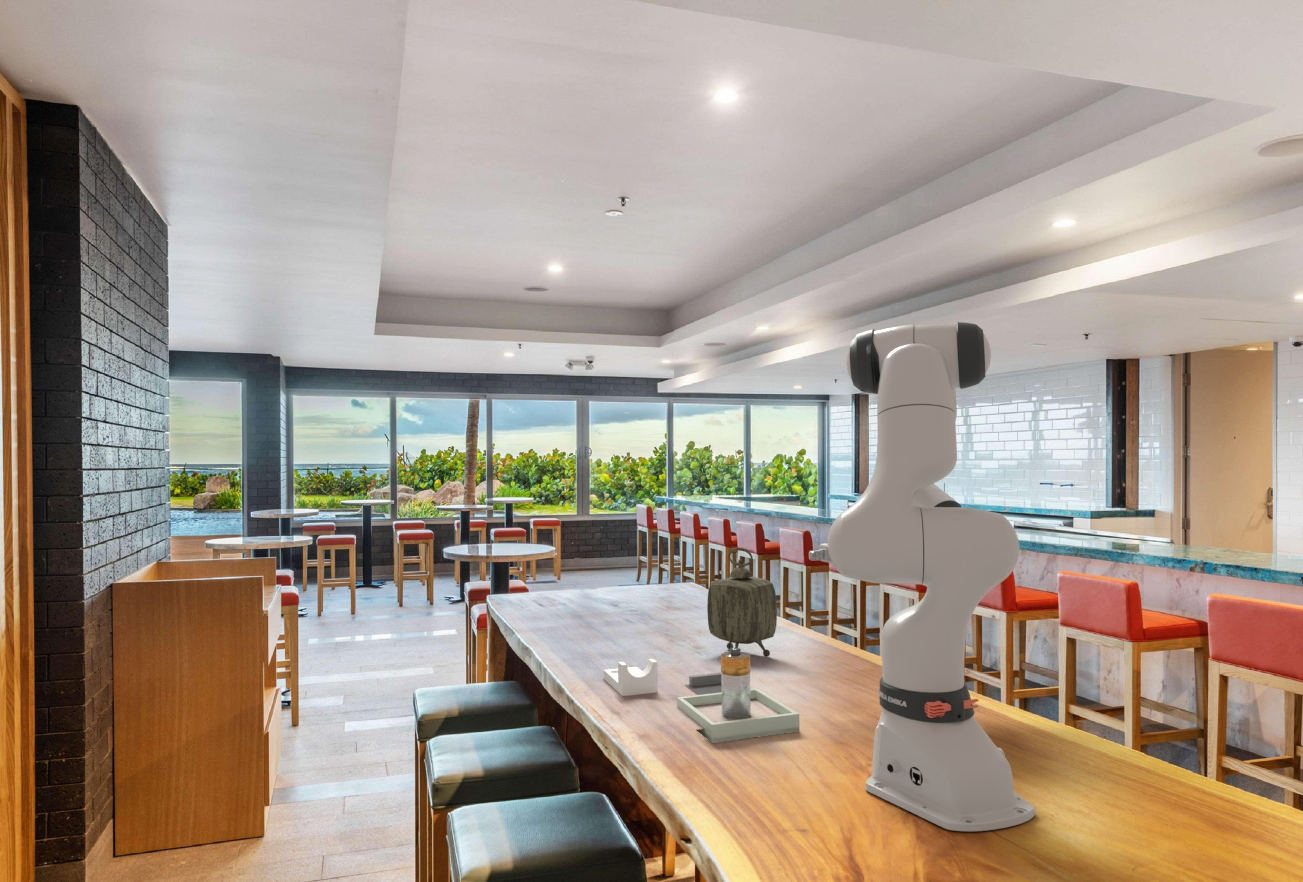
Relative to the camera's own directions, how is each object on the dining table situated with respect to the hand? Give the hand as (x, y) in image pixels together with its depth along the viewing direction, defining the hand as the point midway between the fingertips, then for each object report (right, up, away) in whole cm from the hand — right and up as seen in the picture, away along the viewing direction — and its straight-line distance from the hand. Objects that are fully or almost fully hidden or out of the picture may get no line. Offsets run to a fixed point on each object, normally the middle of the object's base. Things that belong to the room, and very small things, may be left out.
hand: (823, 558), depth 154 cm
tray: (-18, -27, -12) cm, 34 cm away
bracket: (-37, -28, +7) cm, 47 cm away
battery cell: (-18, -26, -12) cm, 34 cm away
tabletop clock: (-12, -28, +36) cm, 47 cm away
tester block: (-20, -27, +3) cm, 34 cm away
